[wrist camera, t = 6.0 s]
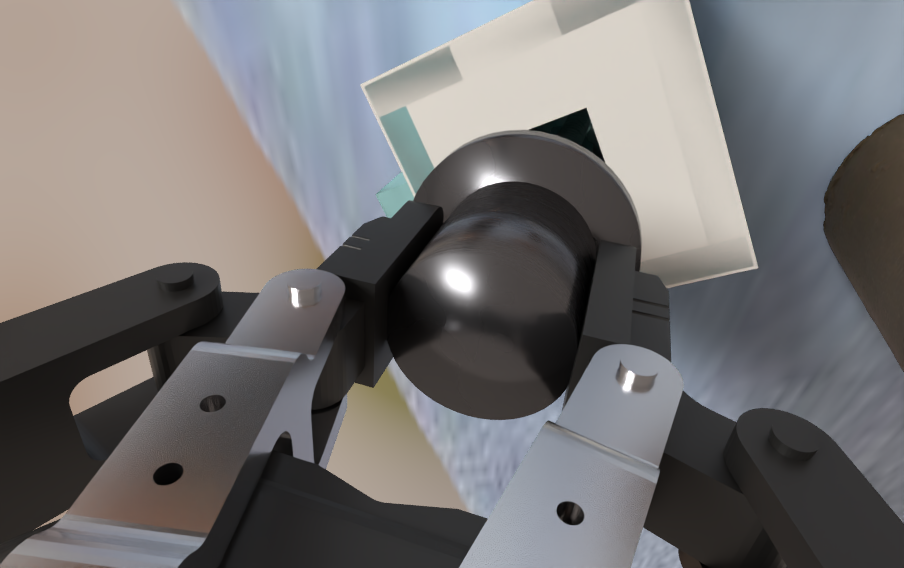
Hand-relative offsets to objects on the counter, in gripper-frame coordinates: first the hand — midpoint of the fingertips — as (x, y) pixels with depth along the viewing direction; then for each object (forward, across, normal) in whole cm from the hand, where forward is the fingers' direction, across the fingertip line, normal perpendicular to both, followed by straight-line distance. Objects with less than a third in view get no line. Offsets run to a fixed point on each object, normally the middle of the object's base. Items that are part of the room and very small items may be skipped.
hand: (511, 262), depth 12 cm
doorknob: (+15, 0, 0) cm, 15 cm away
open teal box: (+20, +1, +1) cm, 20 cm away
